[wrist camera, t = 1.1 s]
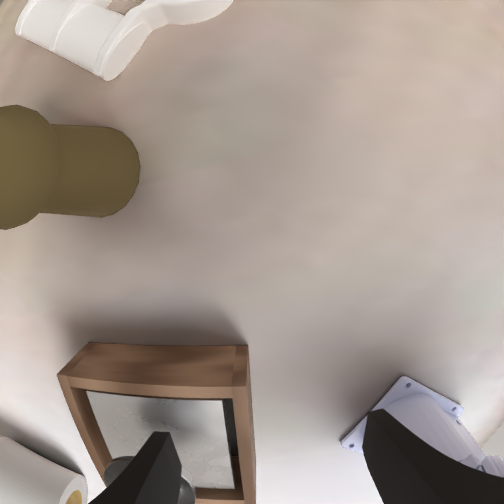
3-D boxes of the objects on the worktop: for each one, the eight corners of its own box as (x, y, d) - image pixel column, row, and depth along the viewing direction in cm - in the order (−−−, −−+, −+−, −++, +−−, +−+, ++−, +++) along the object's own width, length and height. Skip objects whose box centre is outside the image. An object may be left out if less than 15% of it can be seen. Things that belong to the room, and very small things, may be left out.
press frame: (248, 344, 21) (246, 386, 16) (255, 462, 23) (255, 505, 18) (88, 342, 21) (56, 374, 16) (125, 453, 24) (108, 490, 19)
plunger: (223, 392, 18) (211, 471, 12) (235, 481, 20) (230, 548, 13) (90, 384, 18) (45, 444, 12) (124, 471, 20) (100, 529, 14)
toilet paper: (82, 458, 24) (45, 525, 14) (91, 503, 26) (65, 559, 16) (8, 421, 24) (-37, 471, 14) (25, 470, 26) (-8, 517, 16)
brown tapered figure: (79, 231, 20) (-39, 267, 9) (54, 152, 19) (-64, 141, 8) (153, 195, 19) (50, 205, 9) (124, 112, 18) (19, 57, 8)
